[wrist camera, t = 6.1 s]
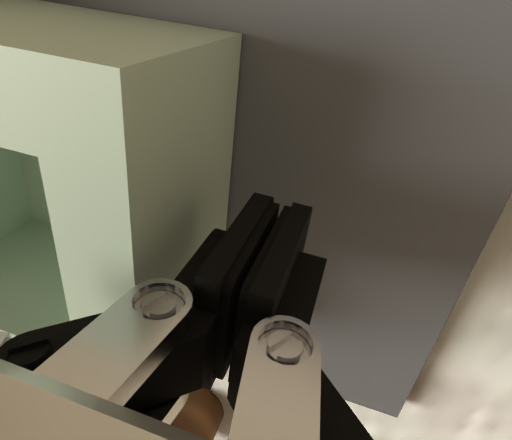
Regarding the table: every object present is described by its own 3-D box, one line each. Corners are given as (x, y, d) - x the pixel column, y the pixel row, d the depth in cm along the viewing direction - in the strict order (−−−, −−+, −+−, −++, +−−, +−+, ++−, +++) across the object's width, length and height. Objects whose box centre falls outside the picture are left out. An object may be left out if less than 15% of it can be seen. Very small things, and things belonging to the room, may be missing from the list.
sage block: (242, 33, 11) (119, 67, 6) (220, 294, 17) (144, 424, 12) (-39, -13, 13) (-299, -14, 8) (21, 233, 19) (-116, 322, 14)
